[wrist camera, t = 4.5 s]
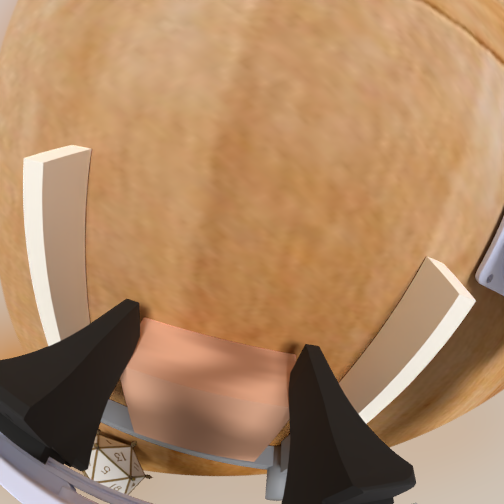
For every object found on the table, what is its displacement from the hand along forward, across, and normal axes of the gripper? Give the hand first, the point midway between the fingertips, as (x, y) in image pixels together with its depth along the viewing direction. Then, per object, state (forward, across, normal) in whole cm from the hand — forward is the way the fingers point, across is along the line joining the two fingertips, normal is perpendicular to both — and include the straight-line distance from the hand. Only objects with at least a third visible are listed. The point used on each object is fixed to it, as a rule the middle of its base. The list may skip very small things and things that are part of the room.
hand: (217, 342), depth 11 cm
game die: (+2, +8, +24) cm, 25 cm away
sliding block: (+2, 0, +6) cm, 6 cm away
